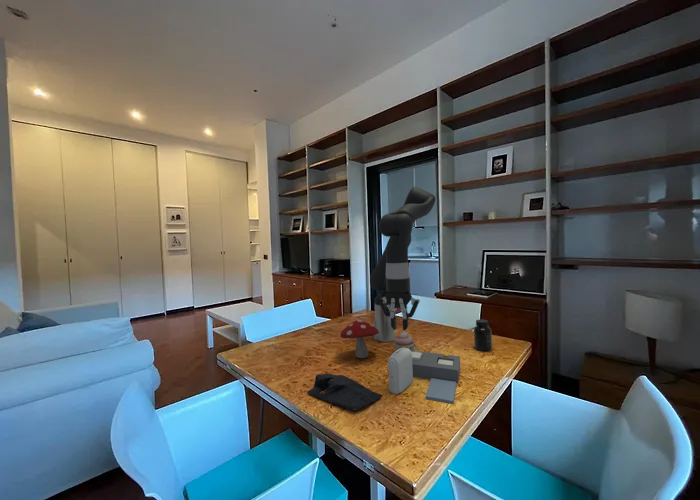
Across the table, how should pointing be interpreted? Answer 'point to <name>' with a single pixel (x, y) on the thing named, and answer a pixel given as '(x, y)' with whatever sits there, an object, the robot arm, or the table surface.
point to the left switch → (416, 356)
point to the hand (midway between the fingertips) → (399, 329)
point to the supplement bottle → (482, 336)
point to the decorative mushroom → (359, 335)
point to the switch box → (436, 367)
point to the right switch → (445, 362)
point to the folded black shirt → (343, 391)
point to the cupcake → (404, 341)
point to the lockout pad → (441, 390)
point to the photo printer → (400, 370)
